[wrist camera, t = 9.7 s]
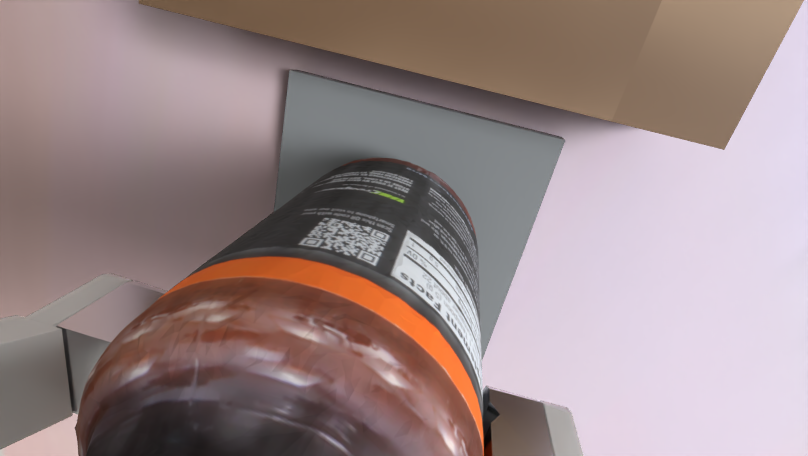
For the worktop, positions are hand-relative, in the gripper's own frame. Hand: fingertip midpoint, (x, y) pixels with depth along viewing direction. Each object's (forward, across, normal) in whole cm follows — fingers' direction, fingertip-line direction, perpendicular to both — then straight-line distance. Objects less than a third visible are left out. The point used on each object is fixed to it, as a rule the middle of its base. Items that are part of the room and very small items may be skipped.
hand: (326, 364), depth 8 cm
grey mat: (+8, 0, 0) cm, 8 cm away
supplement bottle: (+6, 0, 0) cm, 6 cm away
